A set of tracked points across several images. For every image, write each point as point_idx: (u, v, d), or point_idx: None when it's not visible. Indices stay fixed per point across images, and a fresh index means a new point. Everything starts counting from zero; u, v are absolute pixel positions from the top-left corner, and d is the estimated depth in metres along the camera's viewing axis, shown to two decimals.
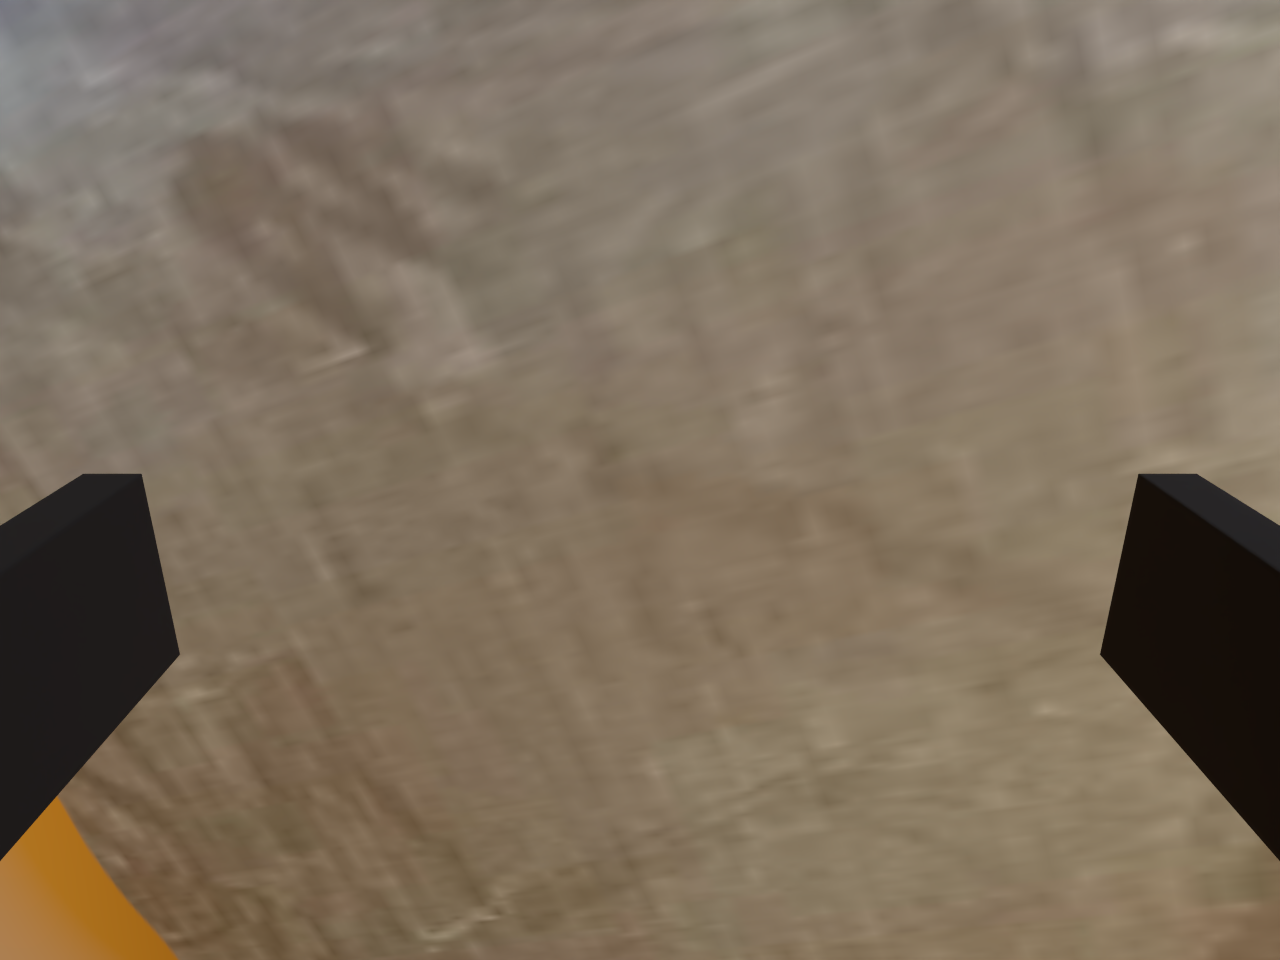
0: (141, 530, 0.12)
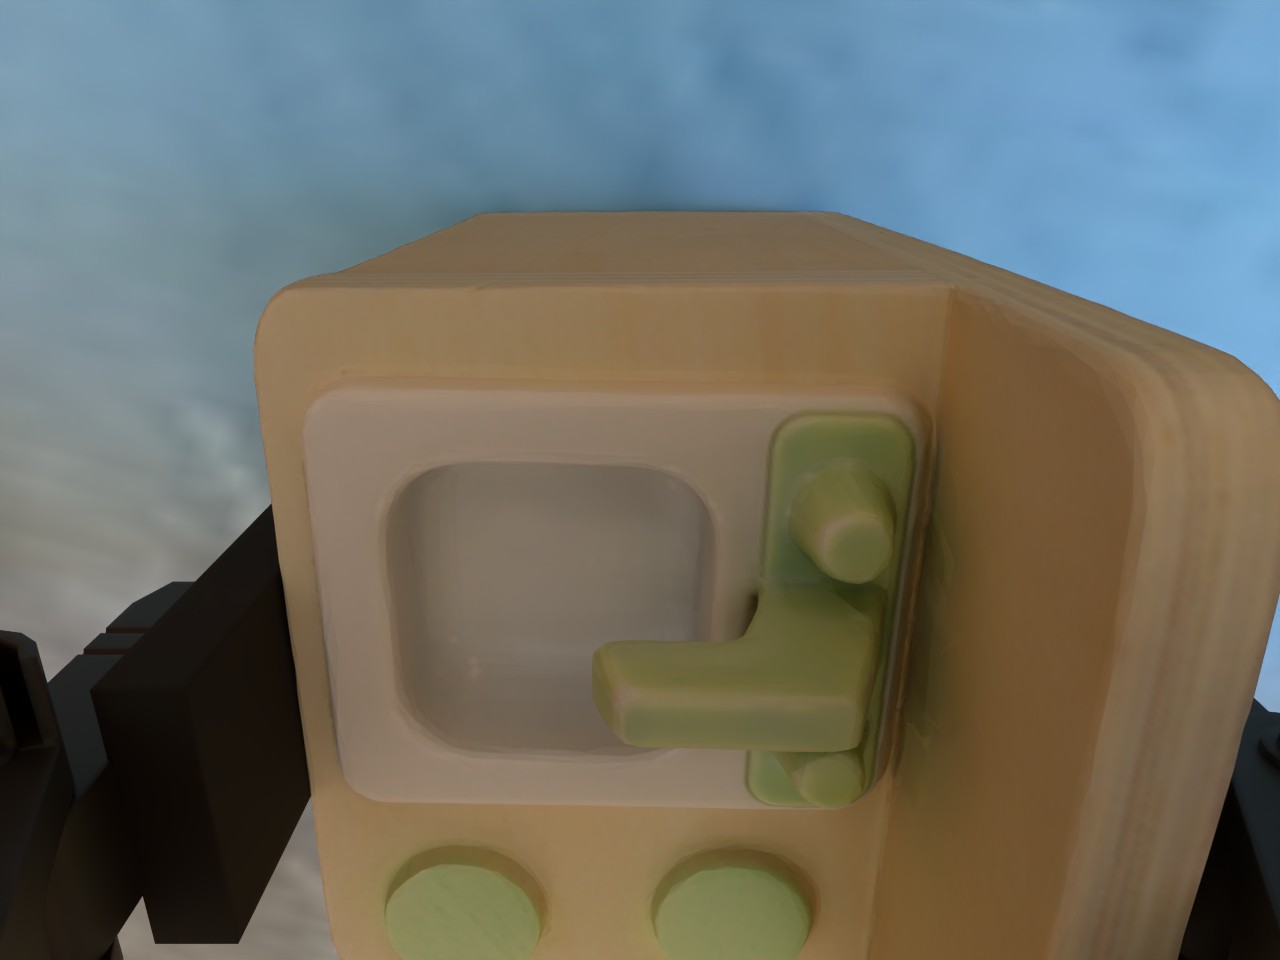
0: None
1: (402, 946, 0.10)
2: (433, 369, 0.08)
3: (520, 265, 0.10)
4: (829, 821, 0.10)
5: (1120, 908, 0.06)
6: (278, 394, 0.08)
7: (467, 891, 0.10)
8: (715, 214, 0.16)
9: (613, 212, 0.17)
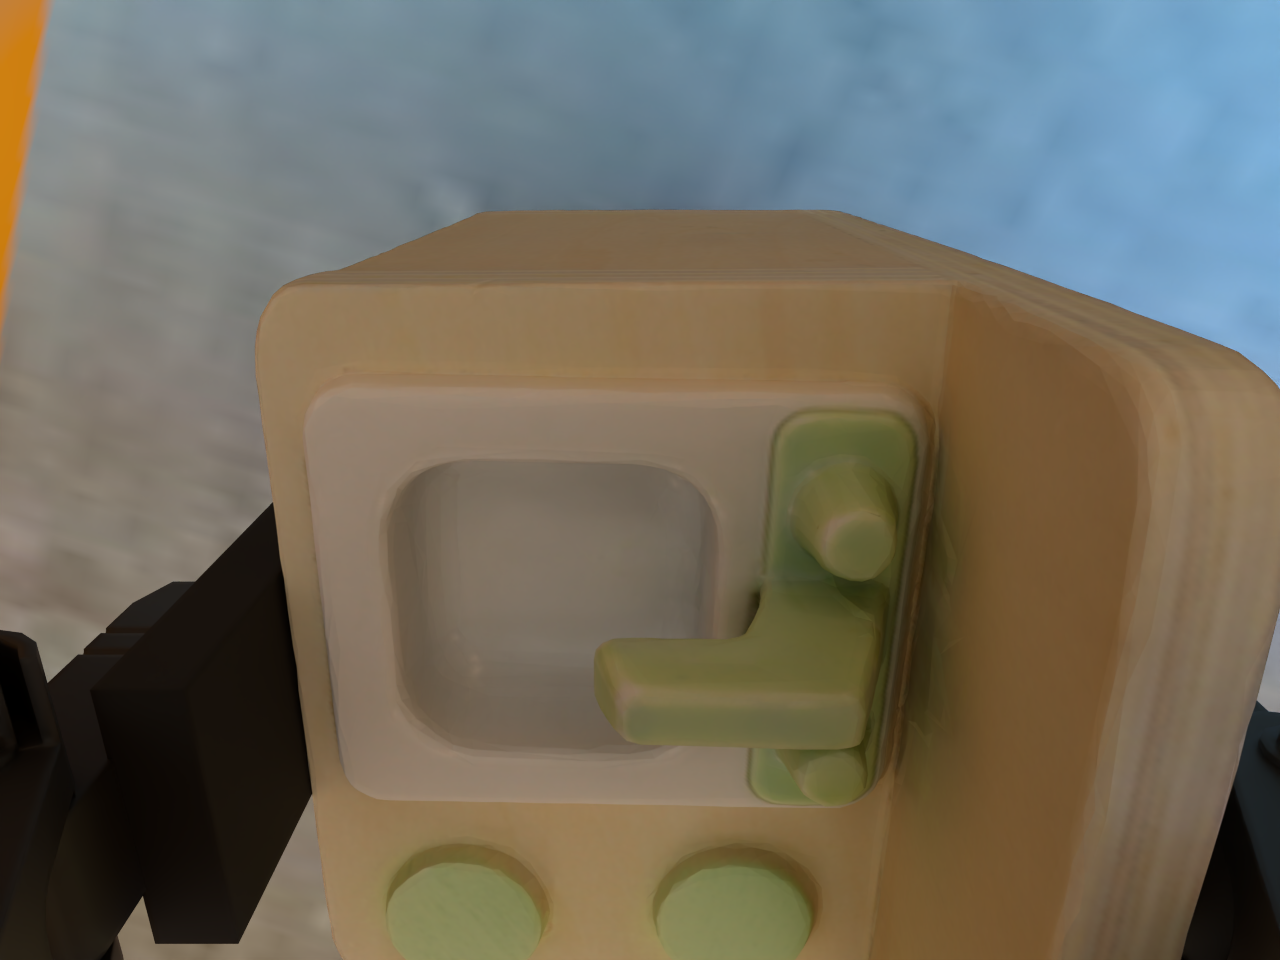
0: None
1: (403, 944, 0.10)
2: (434, 366, 0.08)
3: (522, 262, 0.09)
4: (831, 820, 0.10)
5: (1124, 905, 0.06)
6: (279, 392, 0.08)
7: (468, 889, 0.10)
8: (716, 212, 0.16)
9: (614, 210, 0.17)
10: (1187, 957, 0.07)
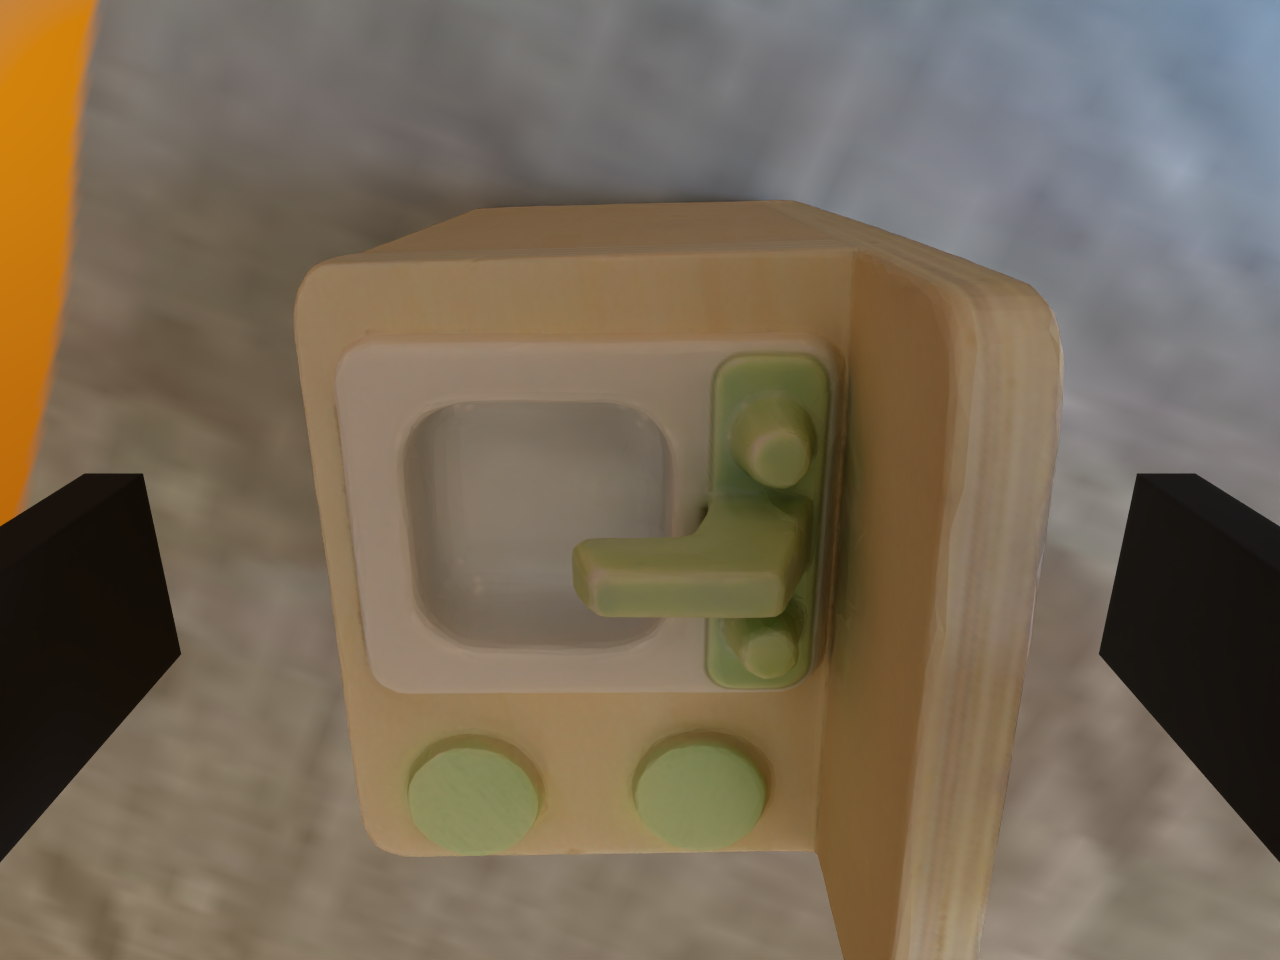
0: (143, 529, 0.12)
1: (423, 822, 0.12)
2: (438, 326, 0.10)
3: (508, 244, 0.11)
4: (779, 706, 0.12)
5: (965, 703, 0.08)
6: (313, 351, 0.10)
7: (475, 771, 0.12)
8: (684, 204, 0.18)
9: (593, 205, 0.19)
10: None
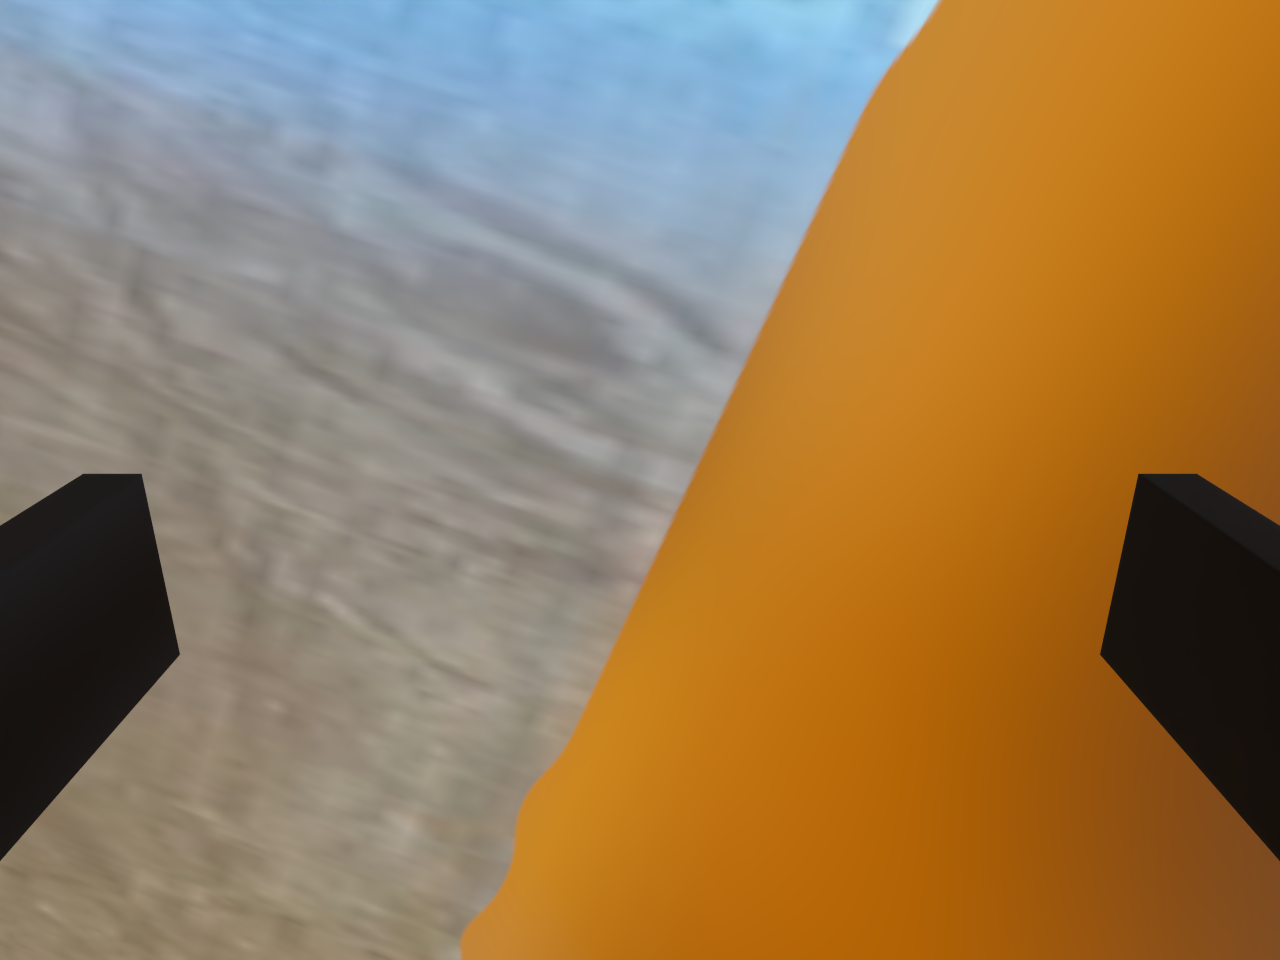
0: (141, 530, 0.12)
1: None
2: None
3: None
4: None
5: None
6: None
7: None
8: None
9: None
10: None
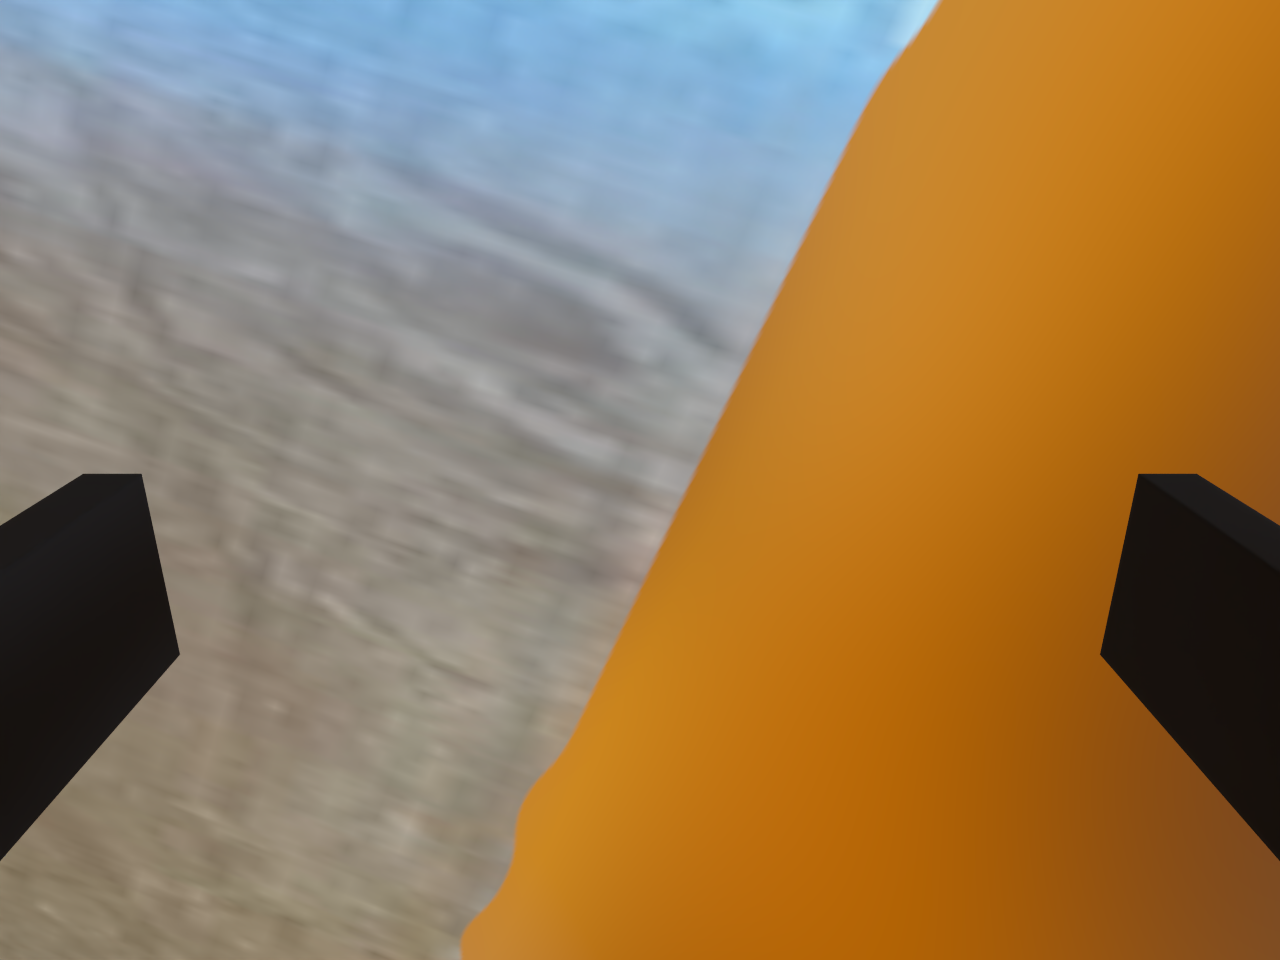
0: (141, 530, 0.12)
1: None
2: None
3: None
4: None
5: None
6: None
7: None
8: None
9: None
10: None
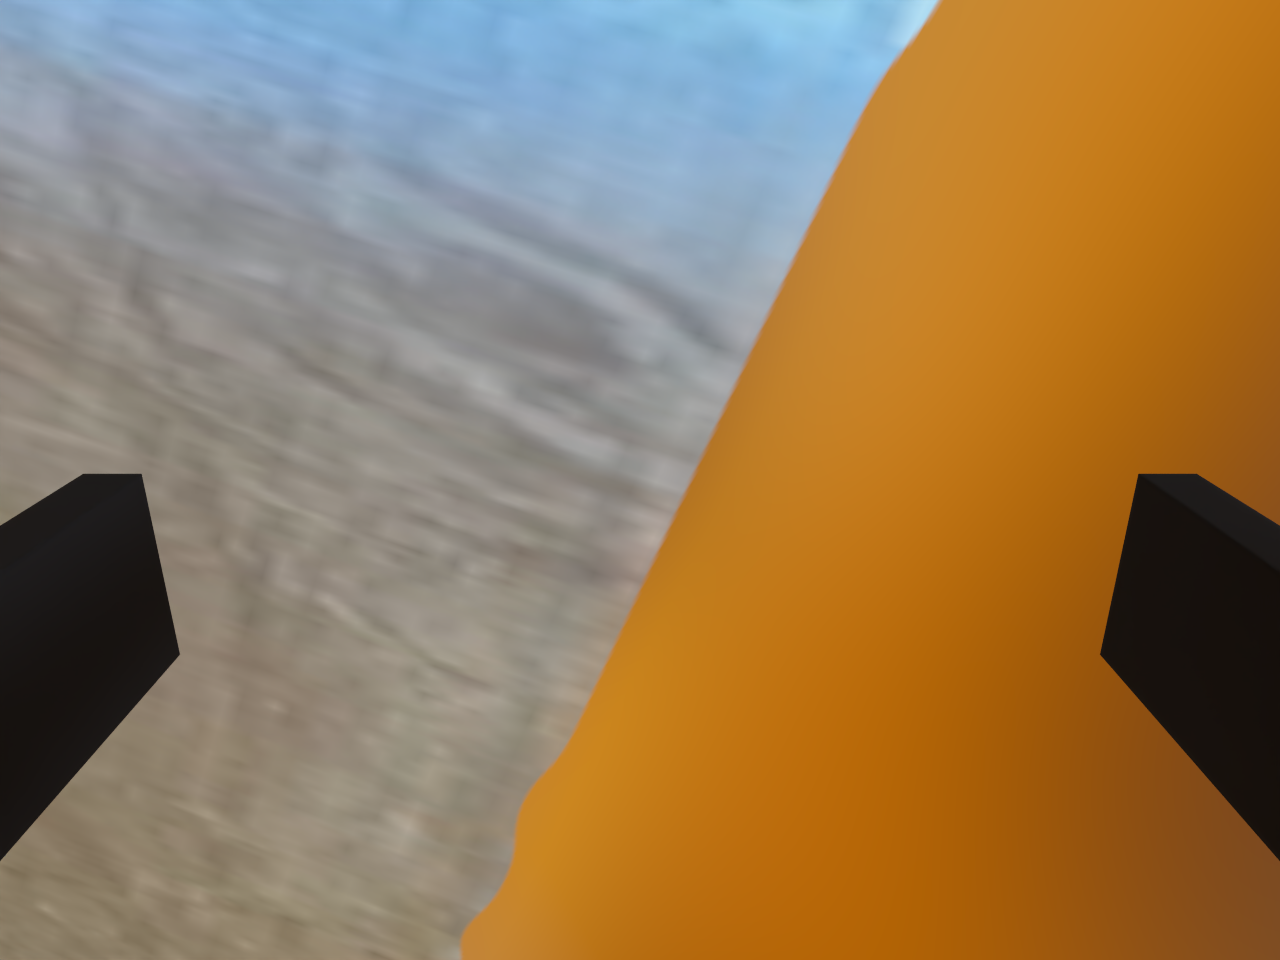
0: (141, 530, 0.12)
1: None
2: None
3: None
4: None
5: None
6: None
7: None
8: None
9: None
10: None
